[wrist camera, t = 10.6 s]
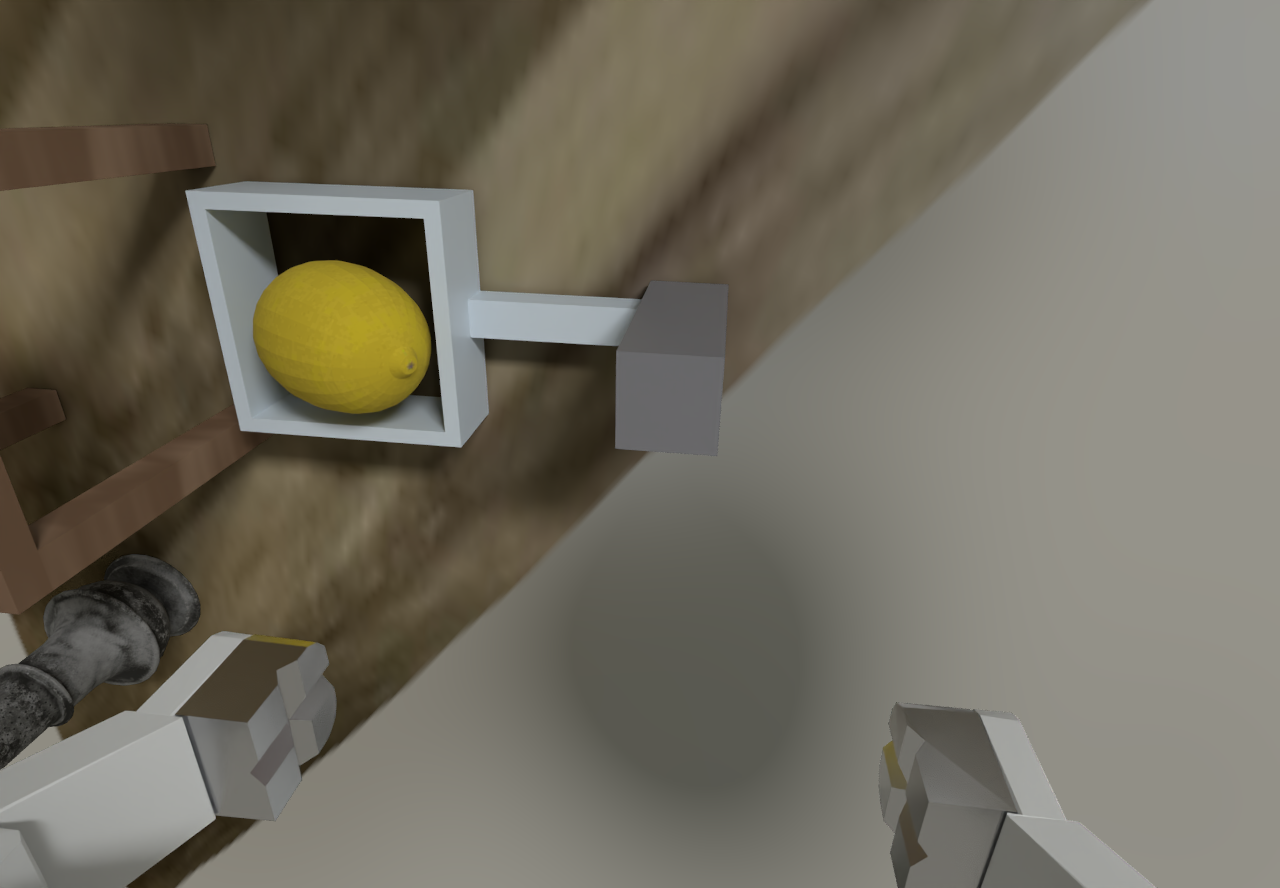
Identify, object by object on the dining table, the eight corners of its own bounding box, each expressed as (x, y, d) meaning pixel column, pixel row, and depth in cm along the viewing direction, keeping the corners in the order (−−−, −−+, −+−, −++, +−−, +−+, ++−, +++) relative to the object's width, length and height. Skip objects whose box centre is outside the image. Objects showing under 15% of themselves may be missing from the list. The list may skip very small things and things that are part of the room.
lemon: (235, 398, 29) (357, 465, 25) (193, 261, 26) (323, 312, 22) (355, 353, 33) (477, 406, 29) (330, 229, 30) (463, 268, 26)
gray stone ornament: (104, 532, 37) (-152, 705, 27) (212, 576, 38) (3, 764, 27) (97, 613, 40) (-140, 801, 29) (198, 654, 40) (2, 854, 30)
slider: (288, 399, 32) (139, 496, 24) (246, 181, 28) (51, 211, 20) (717, 429, 31) (710, 546, 22) (734, 199, 27) (733, 241, 19)
